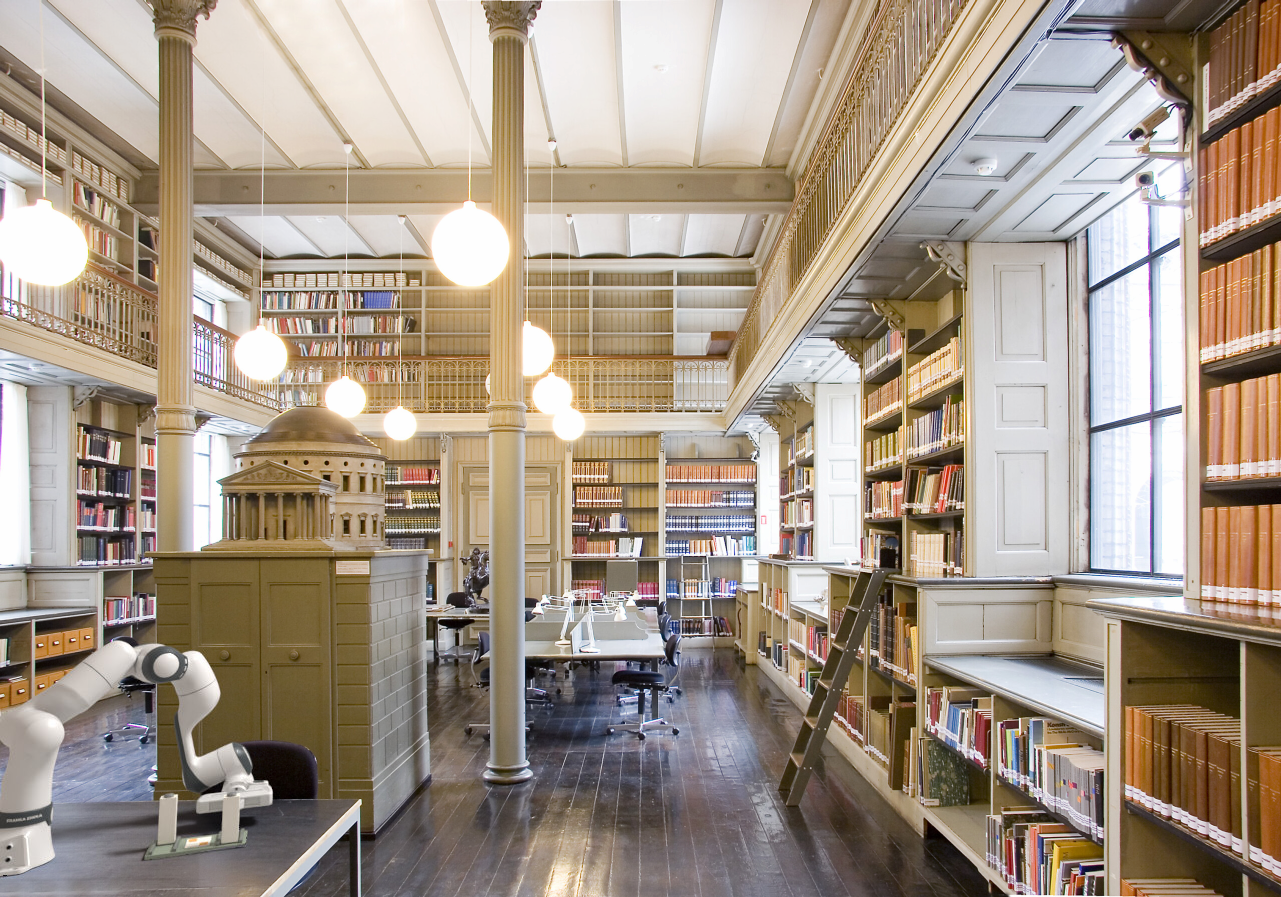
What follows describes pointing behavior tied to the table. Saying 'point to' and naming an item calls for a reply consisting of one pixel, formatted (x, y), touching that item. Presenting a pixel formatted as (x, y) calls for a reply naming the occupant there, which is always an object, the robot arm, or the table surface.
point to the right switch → (230, 817)
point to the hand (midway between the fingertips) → (233, 808)
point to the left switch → (167, 819)
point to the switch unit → (191, 845)
